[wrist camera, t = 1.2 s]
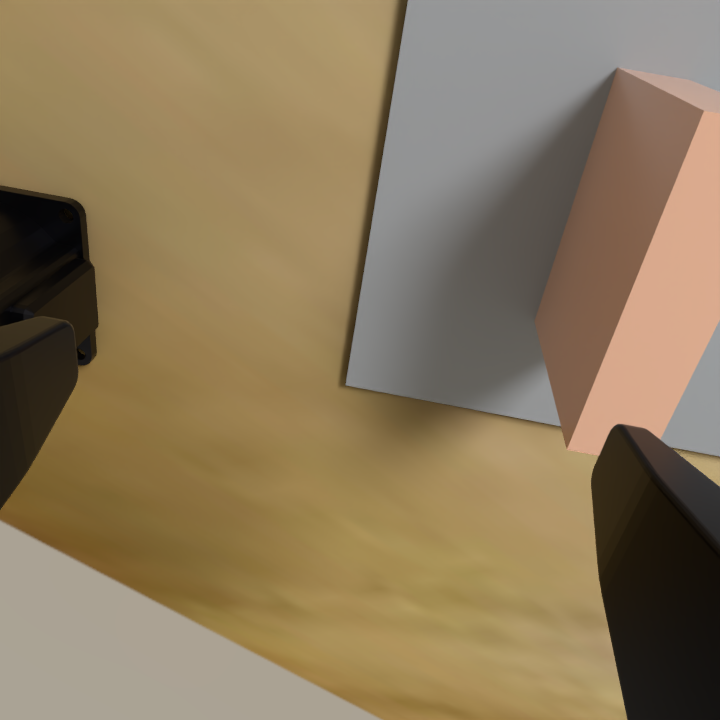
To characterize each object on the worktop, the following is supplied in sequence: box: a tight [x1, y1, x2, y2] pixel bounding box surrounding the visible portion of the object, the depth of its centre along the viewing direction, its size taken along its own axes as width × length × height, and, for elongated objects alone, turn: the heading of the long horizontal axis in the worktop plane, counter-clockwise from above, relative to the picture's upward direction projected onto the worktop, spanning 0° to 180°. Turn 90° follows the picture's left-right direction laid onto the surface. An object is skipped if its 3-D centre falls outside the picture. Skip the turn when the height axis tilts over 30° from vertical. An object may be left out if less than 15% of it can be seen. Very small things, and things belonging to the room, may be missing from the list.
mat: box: [346, 0, 720, 456], centre depth 20 cm, size 18×16×1 cm
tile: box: [534, 67, 720, 456], centre depth 17 cm, size 2×8×7 cm, turn 171°
